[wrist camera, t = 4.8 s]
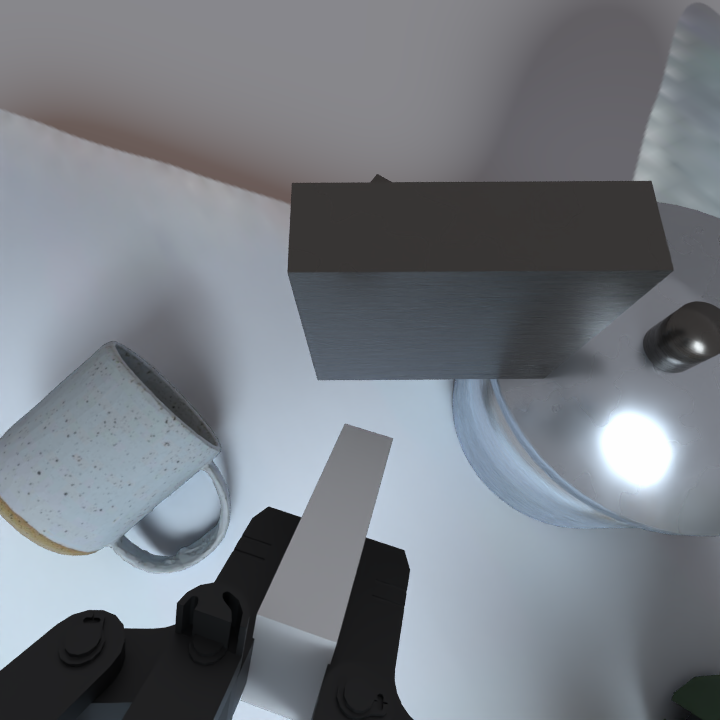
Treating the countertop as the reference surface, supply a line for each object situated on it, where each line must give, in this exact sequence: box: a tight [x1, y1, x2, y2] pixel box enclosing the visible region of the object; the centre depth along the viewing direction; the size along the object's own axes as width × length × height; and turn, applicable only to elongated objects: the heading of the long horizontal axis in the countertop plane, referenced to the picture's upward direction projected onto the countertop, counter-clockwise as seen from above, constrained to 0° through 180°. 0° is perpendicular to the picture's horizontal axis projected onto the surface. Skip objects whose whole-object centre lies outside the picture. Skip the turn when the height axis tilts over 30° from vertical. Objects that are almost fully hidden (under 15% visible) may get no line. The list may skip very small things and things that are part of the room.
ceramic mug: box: [0, 341, 230, 573], centre depth 23 cm, size 11×8×8 cm
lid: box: [288, 181, 720, 536], centre depth 15 cm, size 20×14×9 cm
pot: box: [370, 174, 638, 529], centre depth 24 cm, size 25×13×9 cm, turn 58°
